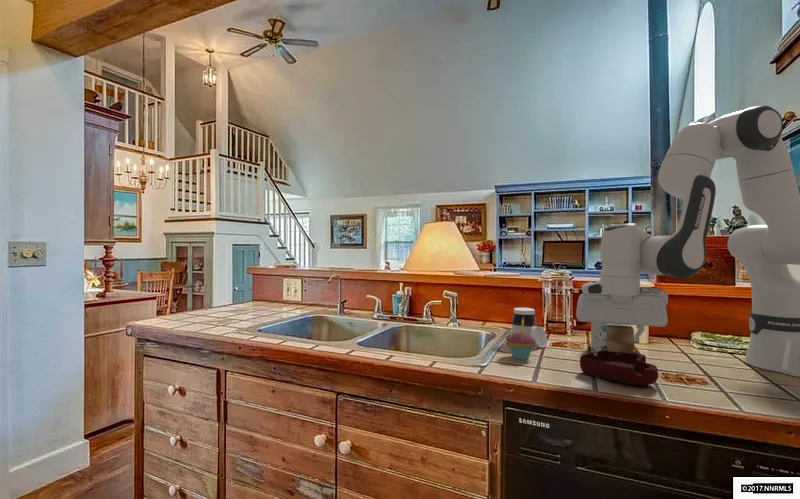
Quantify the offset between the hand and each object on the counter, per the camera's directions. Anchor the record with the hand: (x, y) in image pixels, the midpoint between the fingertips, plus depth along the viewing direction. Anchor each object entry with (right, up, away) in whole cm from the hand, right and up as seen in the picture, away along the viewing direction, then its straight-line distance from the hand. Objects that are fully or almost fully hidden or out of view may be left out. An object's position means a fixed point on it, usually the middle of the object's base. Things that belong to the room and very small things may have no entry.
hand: (619, 341), depth 101 cm
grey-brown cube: (0, -2, 0) cm, 2 cm away
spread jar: (-12, -9, +32) cm, 36 cm away
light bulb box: (+9, -9, +24) cm, 27 cm away
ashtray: (-1, -9, 0) cm, 9 cm away
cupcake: (-20, -9, +17) cm, 28 cm away
